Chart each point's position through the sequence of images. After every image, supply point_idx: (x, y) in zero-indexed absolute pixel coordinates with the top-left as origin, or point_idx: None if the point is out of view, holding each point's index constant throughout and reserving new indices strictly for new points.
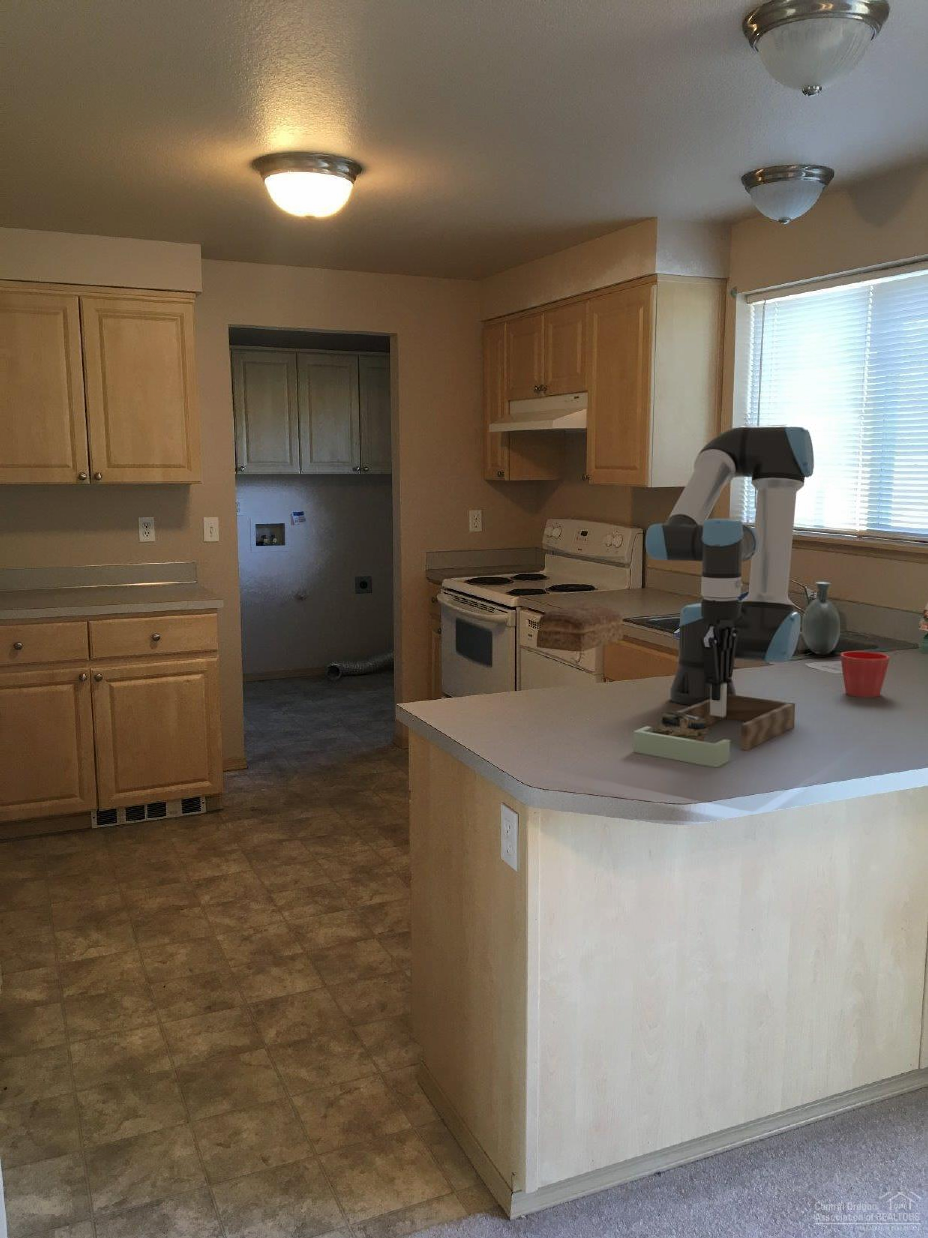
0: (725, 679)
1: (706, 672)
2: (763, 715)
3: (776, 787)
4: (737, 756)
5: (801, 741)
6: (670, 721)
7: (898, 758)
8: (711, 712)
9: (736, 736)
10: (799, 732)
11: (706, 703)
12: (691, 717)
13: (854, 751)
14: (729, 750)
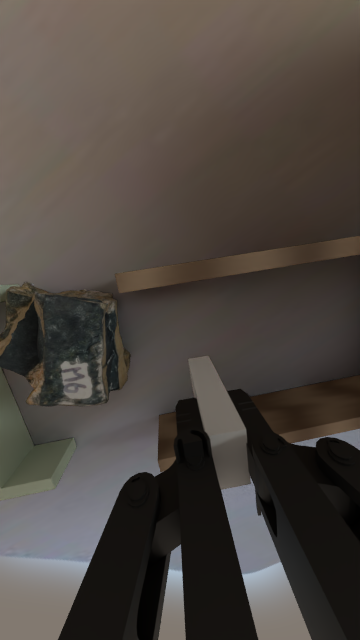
0: (258, 502)
1: (88, 593)
2: None
3: (22, 549)
4: (116, 435)
5: None
6: (39, 327)
7: None
8: (189, 366)
9: (238, 357)
10: None
11: (314, 261)
12: (62, 388)
13: None
14: (65, 466)
